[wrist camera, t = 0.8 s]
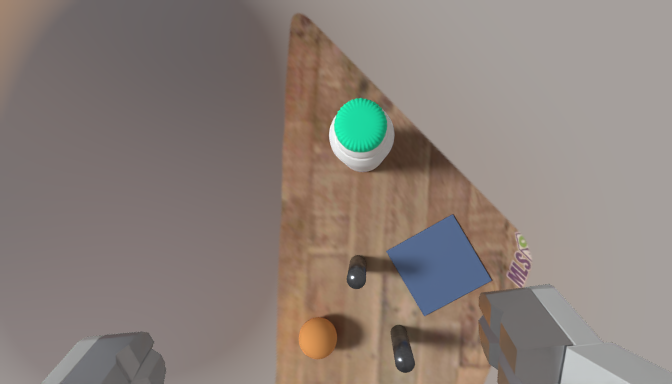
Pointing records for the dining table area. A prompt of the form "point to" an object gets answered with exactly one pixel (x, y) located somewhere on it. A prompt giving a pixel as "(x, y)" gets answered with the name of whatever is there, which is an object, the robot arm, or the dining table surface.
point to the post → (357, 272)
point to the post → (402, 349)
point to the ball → (318, 338)
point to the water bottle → (361, 134)
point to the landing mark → (438, 265)
